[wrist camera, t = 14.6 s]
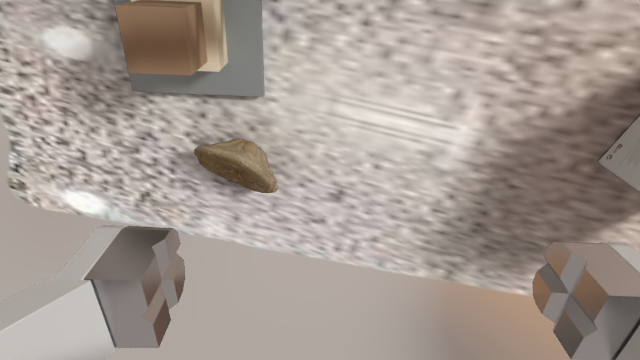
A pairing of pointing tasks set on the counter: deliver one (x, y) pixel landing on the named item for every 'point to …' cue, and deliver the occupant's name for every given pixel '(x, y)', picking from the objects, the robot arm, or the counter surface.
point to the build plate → (237, 74)
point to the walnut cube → (162, 36)
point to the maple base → (213, 34)
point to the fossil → (239, 164)
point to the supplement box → (625, 156)
